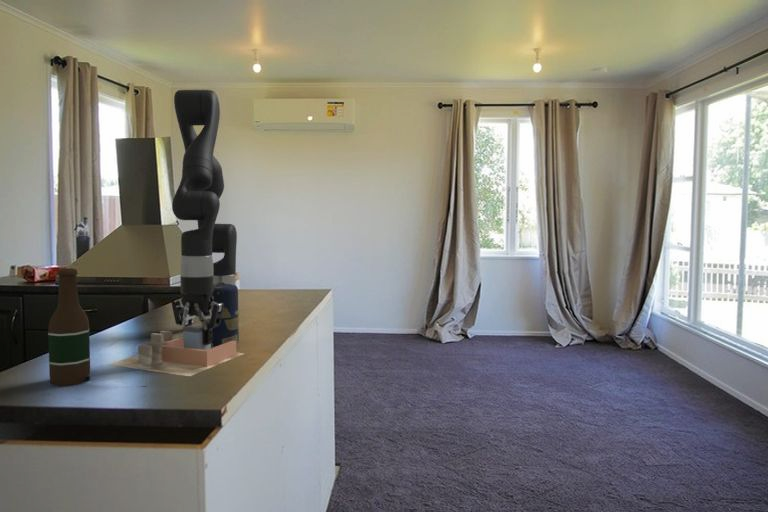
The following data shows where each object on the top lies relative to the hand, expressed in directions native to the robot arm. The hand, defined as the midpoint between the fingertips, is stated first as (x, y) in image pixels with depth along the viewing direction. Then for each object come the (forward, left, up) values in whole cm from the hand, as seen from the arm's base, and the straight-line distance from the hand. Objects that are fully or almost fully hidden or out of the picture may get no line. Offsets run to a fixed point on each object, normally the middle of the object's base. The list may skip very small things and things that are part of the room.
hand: (197, 343), depth 124 cm
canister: (-14, -4, -5) cm, 15 cm away
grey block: (0, 0, -3) cm, 3 cm away
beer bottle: (+22, -15, -5) cm, 27 cm away
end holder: (0, 0, -3) cm, 3 cm away
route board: (+3, -3, -5) cm, 6 cm away
